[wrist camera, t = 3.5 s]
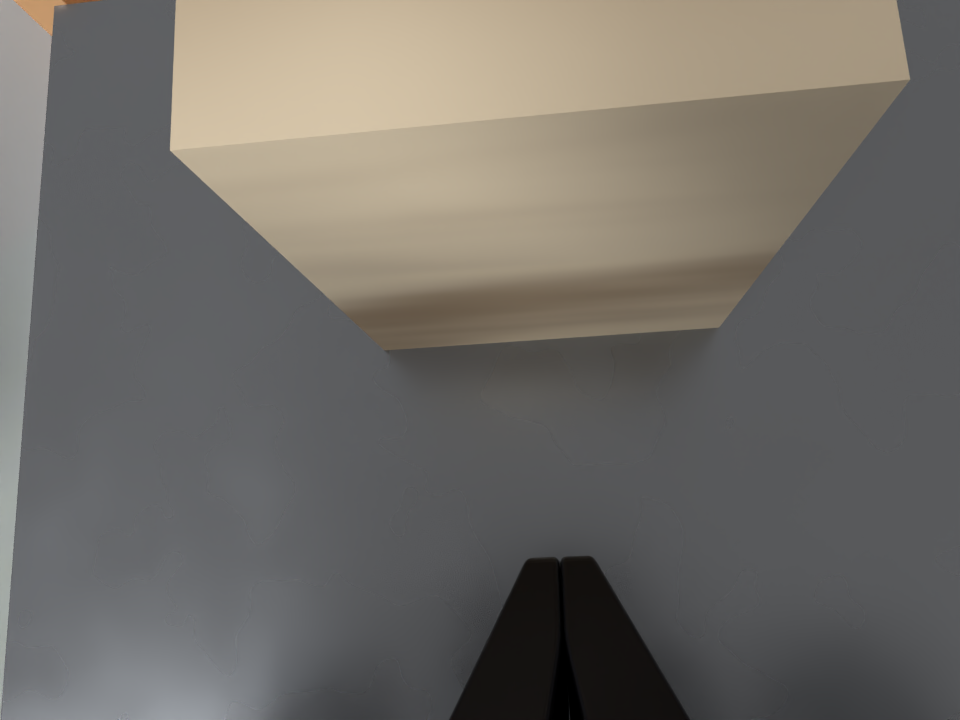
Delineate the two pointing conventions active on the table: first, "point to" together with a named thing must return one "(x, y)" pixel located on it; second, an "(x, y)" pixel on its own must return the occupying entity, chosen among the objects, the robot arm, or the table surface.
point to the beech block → (528, 149)
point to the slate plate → (473, 446)
